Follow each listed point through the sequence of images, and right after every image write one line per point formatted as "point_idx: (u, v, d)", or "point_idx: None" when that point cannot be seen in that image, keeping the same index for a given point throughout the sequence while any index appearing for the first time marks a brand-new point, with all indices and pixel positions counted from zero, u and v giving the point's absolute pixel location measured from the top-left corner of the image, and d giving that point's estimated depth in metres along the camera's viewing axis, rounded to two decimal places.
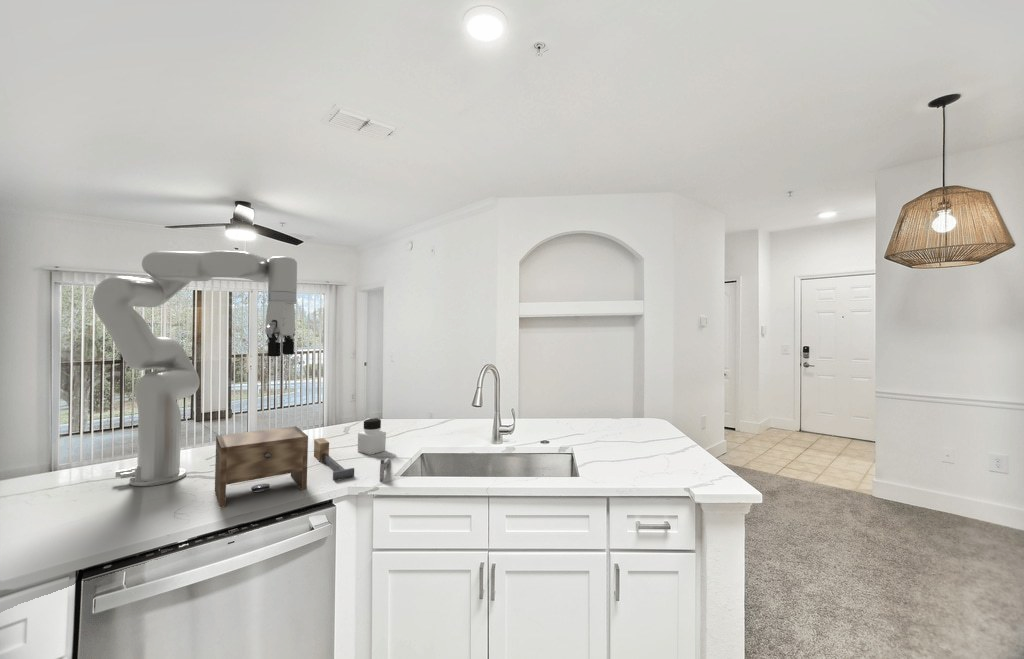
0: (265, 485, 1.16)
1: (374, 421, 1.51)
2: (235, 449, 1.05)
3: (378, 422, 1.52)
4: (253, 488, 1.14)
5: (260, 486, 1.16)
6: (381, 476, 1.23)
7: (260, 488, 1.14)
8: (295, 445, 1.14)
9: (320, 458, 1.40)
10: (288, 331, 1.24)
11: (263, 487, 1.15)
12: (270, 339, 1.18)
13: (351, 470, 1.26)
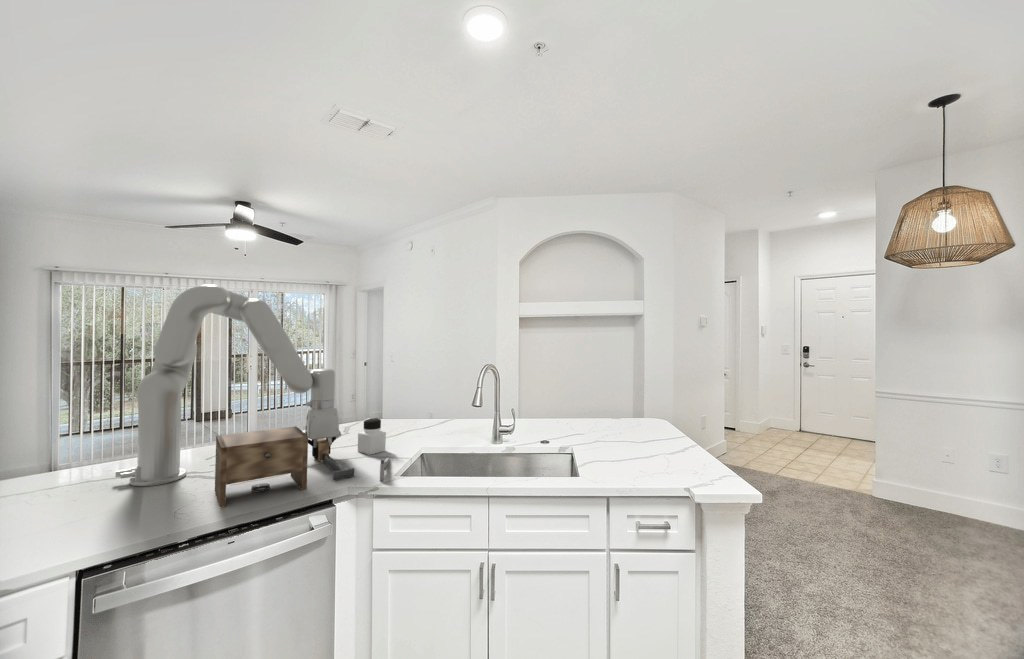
0: (264, 484, 1.17)
1: (374, 421, 1.51)
2: (235, 449, 1.05)
3: (378, 422, 1.52)
4: (256, 487, 1.14)
5: (260, 485, 1.16)
6: (381, 476, 1.24)
7: (264, 486, 1.15)
8: (295, 445, 1.14)
9: (320, 458, 1.40)
10: None
11: (266, 485, 1.16)
12: None
13: (351, 470, 1.26)
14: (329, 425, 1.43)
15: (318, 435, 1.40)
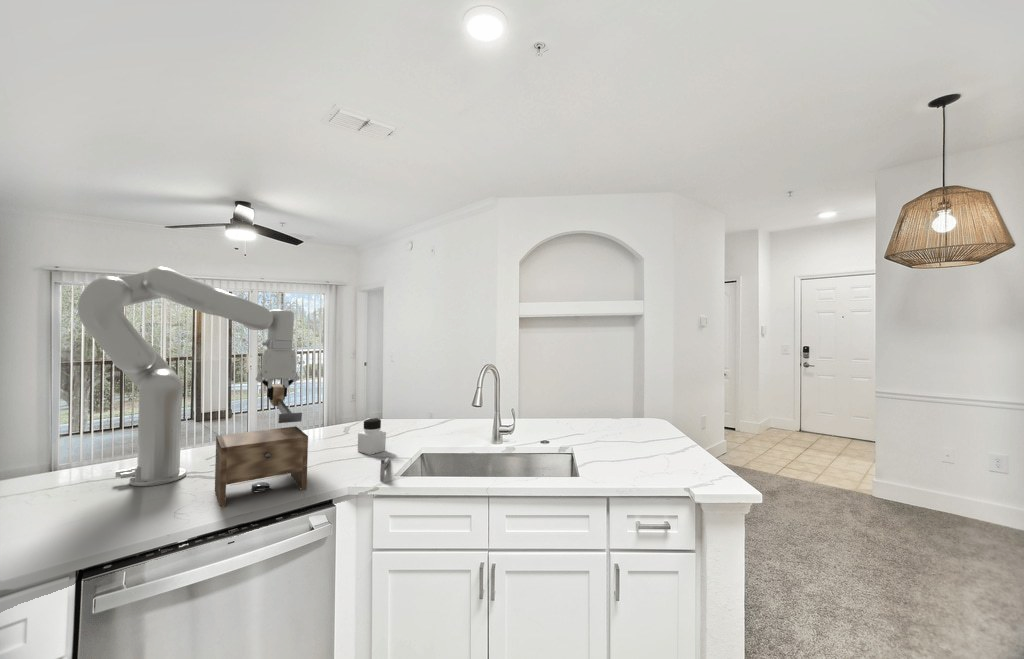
0: (257, 484, 1.16)
1: (374, 421, 1.51)
2: (235, 449, 1.05)
3: (378, 422, 1.52)
4: (268, 485, 1.16)
5: (261, 485, 1.16)
6: (381, 476, 1.24)
7: (265, 483, 1.17)
8: (295, 445, 1.14)
9: (274, 403, 1.38)
10: None
11: (262, 483, 1.17)
12: None
13: (298, 414, 1.24)
14: (285, 366, 1.41)
15: (273, 375, 1.38)
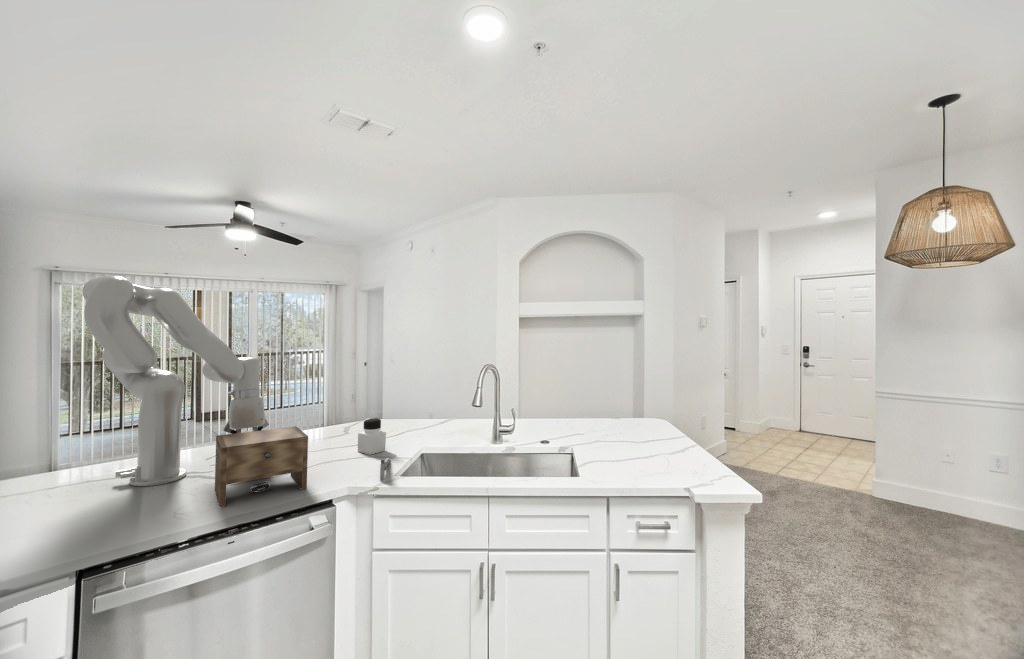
0: (260, 486, 1.15)
1: (374, 421, 1.51)
2: (235, 449, 1.05)
3: (378, 422, 1.52)
4: (257, 483, 1.17)
5: (259, 485, 1.15)
6: (381, 476, 1.24)
7: (253, 486, 1.15)
8: (295, 445, 1.14)
9: None
10: None
11: (254, 487, 1.14)
12: None
13: None
14: (253, 414, 1.40)
15: (241, 425, 1.38)
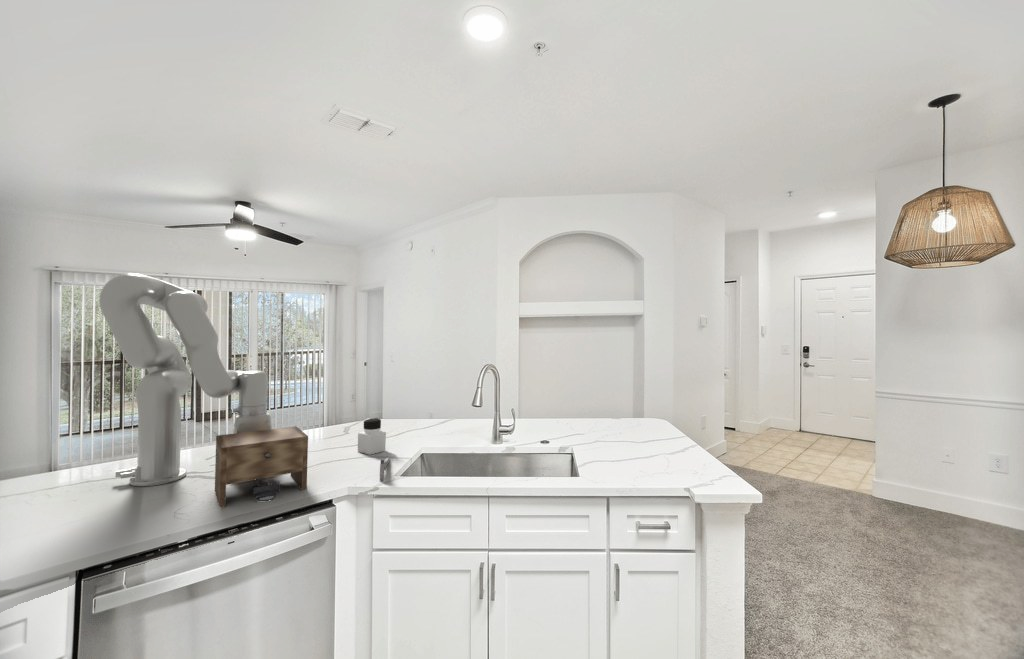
0: (269, 493, 1.11)
1: (374, 421, 1.51)
2: (235, 449, 1.05)
3: (378, 422, 1.52)
4: (262, 497, 1.08)
5: (266, 495, 1.09)
6: (381, 476, 1.24)
7: (270, 496, 1.09)
8: (295, 445, 1.14)
9: None
10: None
11: (272, 494, 1.10)
12: None
13: (276, 485, 1.13)
14: None
15: None
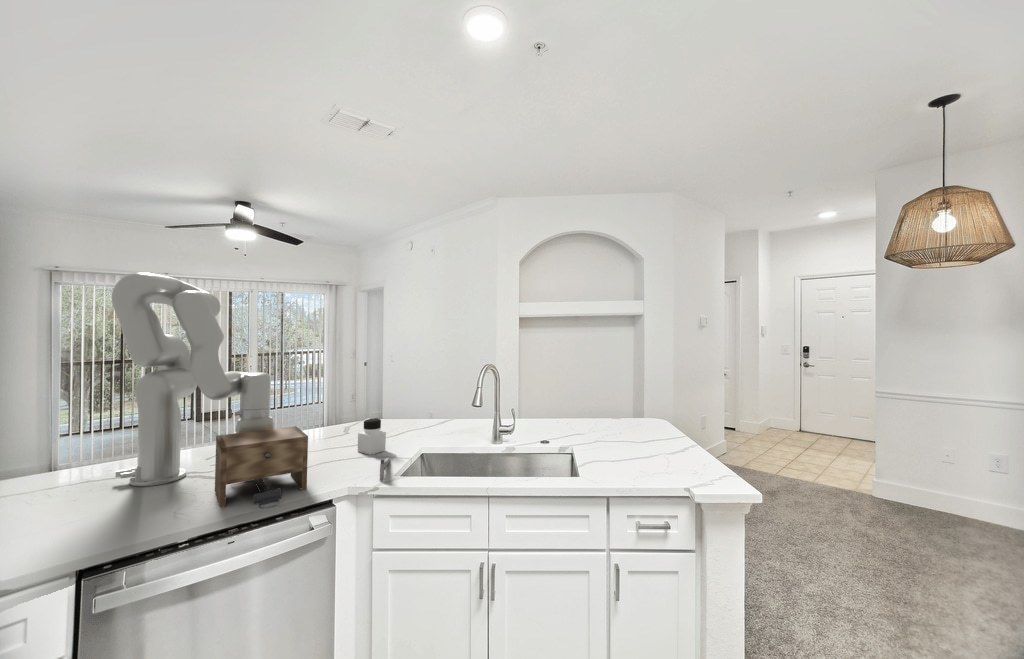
0: (272, 500, 1.07)
1: (374, 421, 1.51)
2: (235, 449, 1.05)
3: (378, 422, 1.52)
4: (265, 505, 1.04)
5: (268, 502, 1.06)
6: (381, 476, 1.24)
7: (273, 503, 1.05)
8: (295, 445, 1.14)
9: None
10: None
11: (274, 501, 1.06)
12: None
13: (277, 491, 1.09)
14: None
15: None
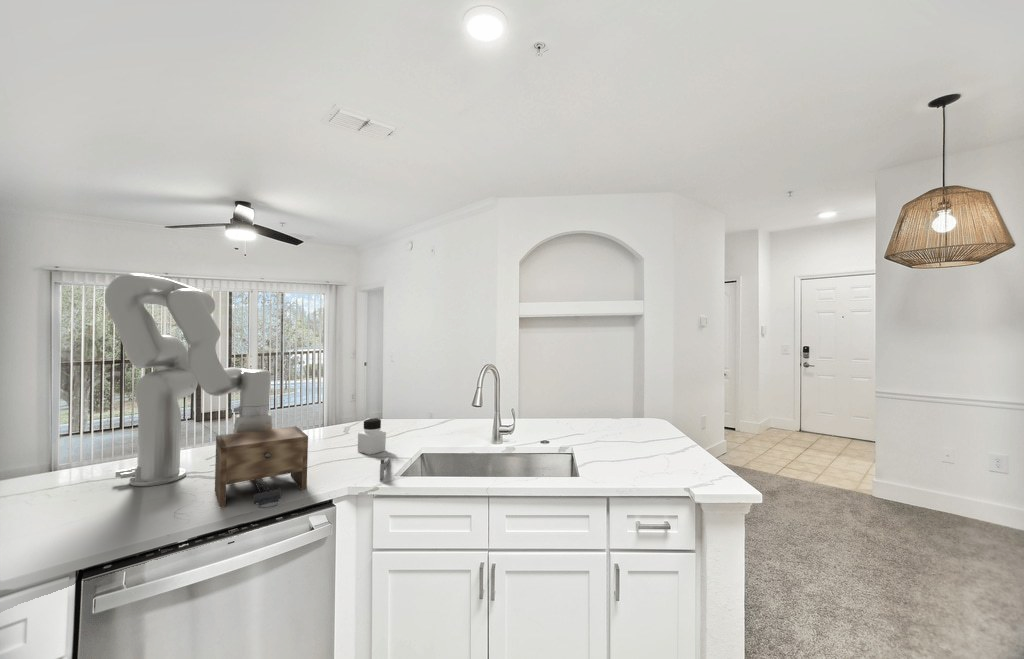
0: (272, 500, 1.07)
1: (374, 421, 1.51)
2: (235, 449, 1.05)
3: (378, 422, 1.52)
4: (265, 505, 1.04)
5: (268, 502, 1.06)
6: (381, 476, 1.24)
7: (273, 503, 1.05)
8: (295, 445, 1.14)
9: None
10: None
11: (274, 501, 1.06)
12: None
13: (277, 491, 1.09)
14: None
15: None
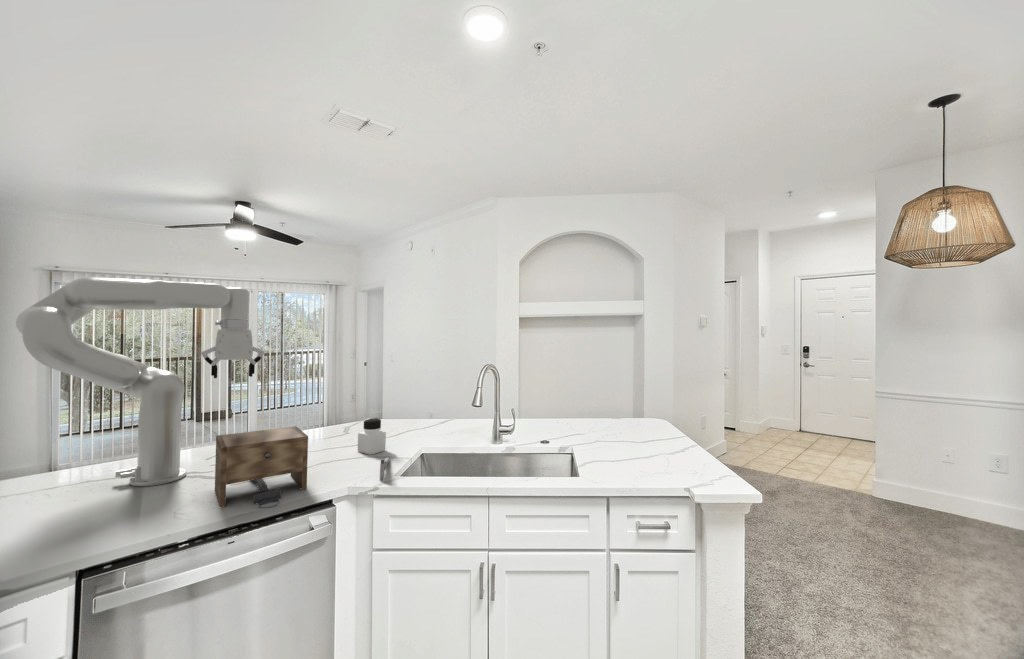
0: (272, 500, 1.07)
1: (374, 421, 1.51)
2: (235, 449, 1.05)
3: (378, 422, 1.52)
4: (265, 505, 1.04)
5: (268, 502, 1.06)
6: (381, 476, 1.24)
7: (273, 503, 1.05)
8: (295, 445, 1.14)
9: None
10: None
11: (274, 501, 1.06)
12: None
13: (277, 491, 1.09)
14: (241, 346, 1.35)
15: (228, 356, 1.33)
